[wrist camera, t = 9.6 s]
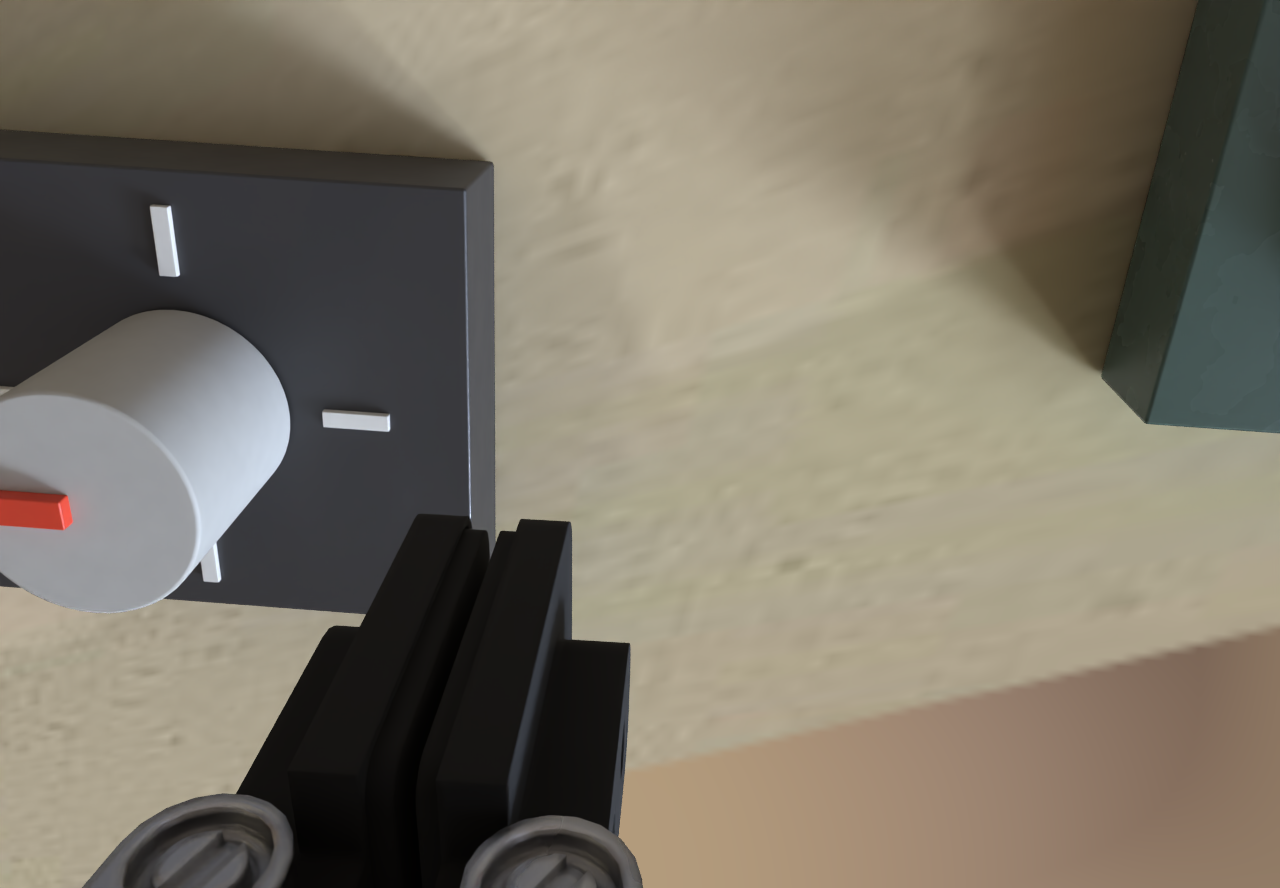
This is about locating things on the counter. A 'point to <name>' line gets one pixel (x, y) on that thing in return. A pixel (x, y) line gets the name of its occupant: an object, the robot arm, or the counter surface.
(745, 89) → the counter surface
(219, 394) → the hob knob
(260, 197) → the panel
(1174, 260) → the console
